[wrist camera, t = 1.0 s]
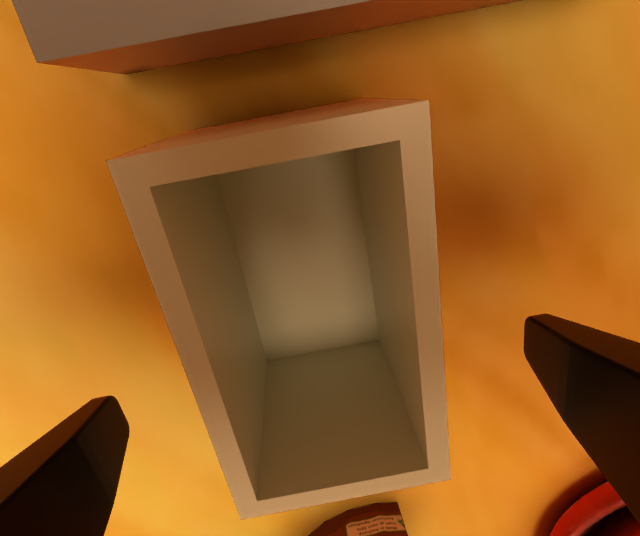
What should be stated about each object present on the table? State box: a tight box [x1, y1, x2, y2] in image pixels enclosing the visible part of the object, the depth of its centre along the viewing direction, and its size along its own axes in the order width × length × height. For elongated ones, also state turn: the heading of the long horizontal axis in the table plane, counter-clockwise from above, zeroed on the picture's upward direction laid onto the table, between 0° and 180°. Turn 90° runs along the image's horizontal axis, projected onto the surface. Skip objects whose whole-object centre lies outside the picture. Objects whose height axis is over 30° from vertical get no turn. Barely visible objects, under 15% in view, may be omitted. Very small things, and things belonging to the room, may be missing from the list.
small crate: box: [106, 98, 451, 520], centre depth 13 cm, size 6×10×7 cm, turn 10°
